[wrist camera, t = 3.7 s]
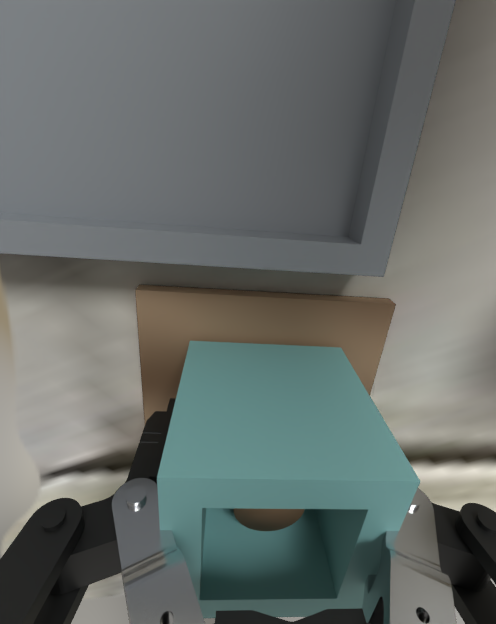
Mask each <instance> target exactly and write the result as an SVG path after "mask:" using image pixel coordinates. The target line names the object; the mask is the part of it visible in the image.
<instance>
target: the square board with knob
mask: <svg viewBox="0 0 496 624" xmlns="http://www.w3.org/2000/svg"><path fill="white" fill-rule="evenodd" d="M135 292H136V307H137V321H138V335H139V349H140V363H141V377H142V391H143V405H144V420H145V424H146V421H147V420H148V419H149V418H150V416H151V415H152V414H153V413H154V412H155V411H167V407H168V403H169V400H170V398H176V396H177V392H178V388H179V384H180V380H181V376H182V371H183V367H184V363H185V359H186V355H187V351H188V347H189V342H190V341H208V342H231V343H253V344H275V345H297V346H319V347H341V348H342V350H343V352H344V353H345V355H346V357H347V358H348V360H349V362H350V364H351V365H352V367H353V369H354V370H355V372H356V374H357V375H358V377H359V379H360V380H361V382H362V384H363V385H364V387H365V389H366V391H367V392H368V394H369V396H370V392H371V389H372V385H373V382H374V378H375V375H376V372H377V368H378V365H379V361H380V358H381V354H382V351H383V347H384V344H385V340H386V337H387V333H388V330H389V326H390V323H391V319H392V316H393V312H394V309H395V305H396V304H395V303H394V302H392V301H391V300H390V299H386V298H369V297H351V296H333V295H315V294H297V293H280V292H262V291H244V290H226V289H208V288H191V287H173V286H155V285H139V286H138V287H137V289H136V290H135ZM304 510H305V509H246V508H234V515H235V518H236V519H237V520H238V521H239V523H241V524H242V525H243V526H245V527H247V528H249V529H252V530H257V531H276V530H280V529H283V528H286V527H288V526H290V525H292V524H294V523H295V522H296V521H298V520H299V518H300V517H301V516H302V515H303V513H304Z"/></svg>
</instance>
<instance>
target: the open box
mask: <svg viewBox="0 0 496 624" xmlns="http://www.w3.org/2000/svg"><path fill="white" fill-rule="evenodd" d="M419 484H420V480H419V478H418V477H417V475H416V473H415V472H414V470H413V468H412V467H411V465H410V463H409V462H408V460H407V458H406V456H405V455H404V453H403V451H402V450H401V448H400V446H399V445H398V443H397V441H396V440H395V438H394V436H393V434H392V433H391V431H390V429H389V428H388V426H387V424H386V423H385V421H384V419H383V418H382V416H381V414H380V413H379V411H378V409H377V407H376V406H375V404H374V402H373V401H372V399H371V397H370V396H369V394H368V392H367V391H366V389H365V387H364V385H363V384H362V382H361V380H360V379H359V377H358V375H357V374H356V372H355V370H354V369H353V367H352V365H351V364H350V362H349V360H348V358H347V357H346V355H345V353H344V352H343V350H342V348H341V347H319V346H297V345H275V344H253V343H231V342H208V341H190V342H189V347H188V351H187V355H186V359H185V363H184V367H183V371H182V376H181V380H180V384H179V388H178V392H177V396H176V400H175V405H174V409H173V413H172V417H171V421H170V425H169V430H168V434H167V438H166V442H165V446H164V450H163V454H162V459H161V463H160V467H159V471H158V475H157V488H158V506H159V523H160V530H172V532H173V535H174V539H175V542H176V545H177V547H178V549H181V551H182V553H183V555H184V558H185V561H186V564H187V568H188V571H189V574H190V577H191V580H192V583H193V587H194V590H195V593H196V596H197V599H198V602H199V605H200V609H201V612H202V615H203V618H215V617H216V611H227V610H254V611H257V612H260V613H263V614H267V615H270V616H273V617H308V616H310V615H313V614H316V613H318V612H321V611H323V610H326V609H358V608H362V605H363V598H364V587H365V582H366V579H367V577H368V575H377V573H378V570H379V566H380V561H381V548H382V540H383V537H384V535H385V532H386V531H399V530H400V527H401V525H402V523H403V521H404V518H405V516H406V514H407V511H408V509H409V507H410V504H411V502H412V500H413V497H414V495H415V493H416V491H417V488H418V486H419ZM234 508H246V509H305V510H304V513H303V515H302V516H301V517H300V518H299V520H298V521H296V522H295V523H294V524H292V525H290V526H288V527H286V528H283V529H280V530H276V531H257V530H252V529H249V528H247V527H245V526H243V525H242V524H241V523H239V521H238V520H237V519H236V518H235V515H234Z"/></svg>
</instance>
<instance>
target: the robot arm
mask: <svg viewBox="0 0 496 624" xmlns="http://www.w3.org/2000/svg"><path fill="white" fill-rule="evenodd" d="M175 400H176V398H170V400H169V403H168V407H167V411H155V412H154V413H153V414H152V415H151V416H150V418H149V419H148V420H147V421H146V424H145V427H144V430H143V434H142V436H141V439H140V443H139V445H138V448H137V451H136V454H135V457H134V460H133V463H132V466H131V469H130V472H129V475H128V478H127V480H126V482H125V483H124V484H123V485H122V486H121V487H120V488H119V489H118V490H117V491H116V493H115V494H114V495H112V496H111V497H109V498H107V499H105V500H102V501H99V502H95V503H92V504H89V505H85V506H82V507H81V506H80V504H79V503H78V502H77V501H76V500H73V499H70V498H60V499H56V500H53V501H51V502H49V503H47V504H45V505H43V506H42V507H41V508H39V509H38V510H37V511H36V512H35V513H34V514H33V515H32V516H31V518H30V519H29V520H28V522H27V523H26V524H25V526H24V527H23V529H22V530H21V531H20V533H19V534H18V536H17V537H16V538H15V540H14V541H13V542H12V544H11V545H10V547H9V548H8V549H7V551H6V552H5V554H4V555H3V556H2V558H1V559H0V624H71V622H72V620H73V618H74V615H75V613H76V611H77V609H78V607H79V605H80V603H81V601H82V598H83V596H84V594H85V592H86V590H87V588H88V585H89V584H92V583H94V582H97V581H100V580H102V579H105V578H108V577H110V576H113V575H116V574H118V573H121V572H122V578H123V584H124V591H125V597H126V603H127V610H128V616H129V623H130V624H205V621H204V618H203V615H202V612H201V609H200V605H199V602H198V599H197V596H196V593H195V590H194V587H193V583H192V580H191V577H190V574H189V571H188V568H187V564H186V561H185V558H184V555H183V553H182V551H181V549H178V547H177V545H176V542H175V539H174V535H173V532H172V530H160V523H159V506H158V488H157V475H158V471H159V467H160V463H161V459H162V454H163V450H164V446H165V442H166V438H167V434H168V430H169V425H170V421H171V417H172V413H173V409H174V405H175ZM491 578H492V580H493V581H494V582H495V584H496V513H495V512H494V511H492V510H491V509H489V508H487V507H485V506H483V505H480V504H476V503H468V504H465V505H464V506H463V507H462V509H461V510H460V512H459V511H456V510H453V509H449V508H446V507H443V506H440V505H437V504H434V503H432V502H431V501H430V499H429V498H428V497H427V495H426V494H425V493H424V492H422V491H421V490H420V489H419V488H417V491H416V493H415V495H414V497H413V500H412V502H411V504H410V507H409V509H408V511H407V514H406V516H405V518H404V521H403V523H402V525H401V527H400V530H399V531H386V532H385V535H384V537H383V540H382V548H381V561H380V566H379V570H378V573H377V575H368V577H367V579H366V582H365V587H364V598H363V605H362V608H358V609H326V610H323V611H321V612H318V613H316V614H313V615H310V616H308V617H305V618H303V619H300V620H298V621H294V622H288V621H285V620H282V619H279V618H276V617H273V616H270V615H267V614H263V613H260V612H257V611H254V610H227V611H216V617H215V623H214V624H457V622H456V614H455V607H456V609H457V611H458V612H459V614H460V616H461V617H462V618H463V621H464V622H465V624H496V587H495V586H494V584H493V583H492V582H491V580H490V579H491ZM454 606H455V607H454Z"/></svg>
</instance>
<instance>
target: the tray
mask: <svg viewBox="0 0 496 624" xmlns="http://www.w3.org/2000/svg"><path fill="white" fill-rule="evenodd" d="M455 1H456V0H0V253H3V254H20V255H36V256H52V257H69V258H85V259H101V260H118V261H134V262H150V263H167V264H183V265H199V266H216V267H232V268H248V269H265V270H281V271H297V272H314V273H330V274H346V275H363V276H379V277H384V274H385V270H386V266H387V262H388V258H389V255H390V251H391V247H392V243H393V239H394V235H395V232H396V228H397V224H398V220H399V216H400V212H401V209H402V205H403V201H404V197H405V193H406V189H407V186H408V182H409V178H410V174H411V170H412V166H413V163H414V159H415V155H416V151H417V147H418V143H419V140H420V136H421V132H422V128H423V124H424V120H425V117H426V113H427V109H428V105H429V101H430V97H431V94H432V90H433V86H434V82H435V78H436V74H437V71H438V67H439V63H440V59H441V55H442V51H443V48H444V44H445V40H446V36H447V32H448V28H449V25H450V21H451V17H452V13H453V9H454V5H455Z"/></svg>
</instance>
